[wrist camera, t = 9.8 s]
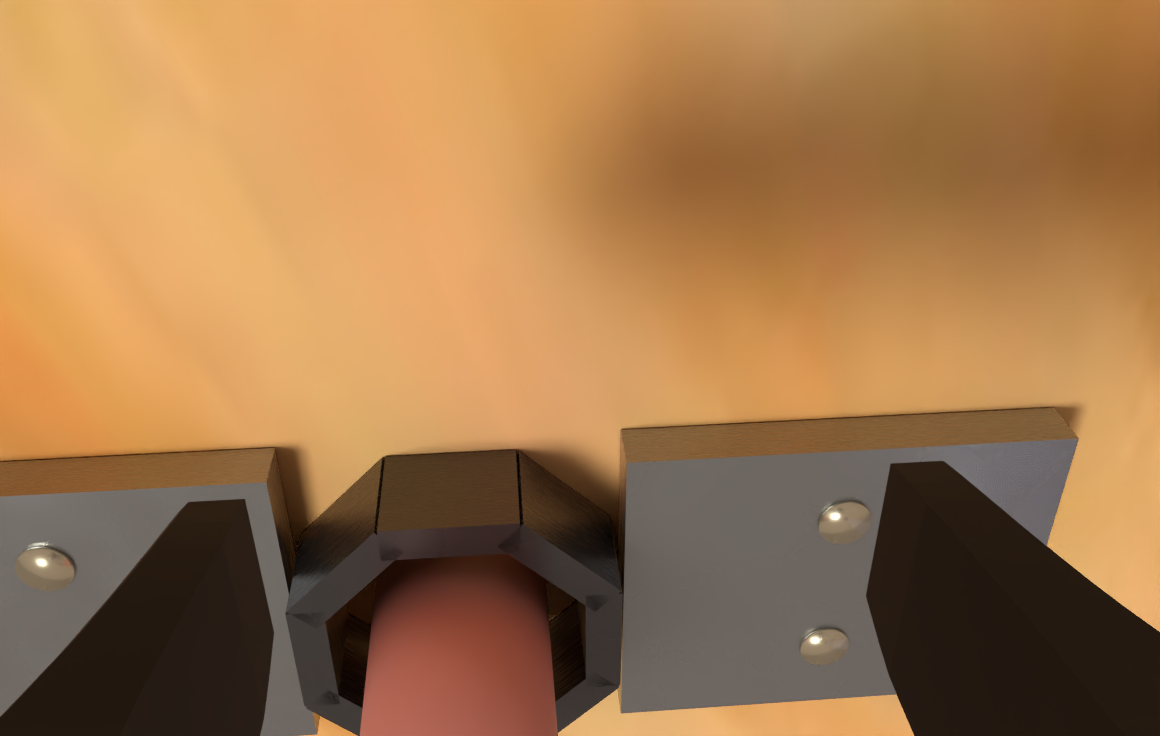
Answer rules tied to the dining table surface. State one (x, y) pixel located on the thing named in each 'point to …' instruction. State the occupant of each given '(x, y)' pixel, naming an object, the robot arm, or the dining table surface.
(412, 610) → the hinge pin
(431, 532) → the hinge
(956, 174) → the dining table surface
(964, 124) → the dining table surface
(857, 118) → the dining table surface
